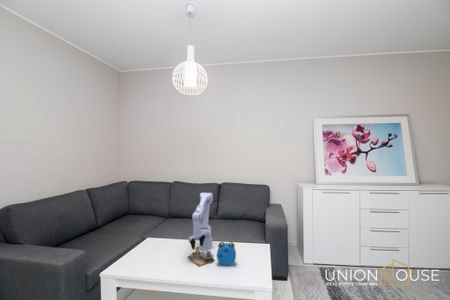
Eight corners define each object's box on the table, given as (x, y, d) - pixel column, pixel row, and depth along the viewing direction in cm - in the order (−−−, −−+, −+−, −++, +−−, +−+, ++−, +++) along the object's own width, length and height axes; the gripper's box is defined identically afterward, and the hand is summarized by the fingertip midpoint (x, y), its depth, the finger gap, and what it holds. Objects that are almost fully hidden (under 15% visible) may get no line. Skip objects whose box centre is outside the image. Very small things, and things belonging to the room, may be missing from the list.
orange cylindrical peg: (197, 256, 164) (197, 246, 164) (199, 257, 162) (199, 247, 162) (194, 257, 162) (194, 247, 162) (197, 258, 160) (197, 248, 160)
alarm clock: (235, 262, 157) (235, 240, 157) (235, 266, 151) (235, 244, 151) (217, 261, 158) (217, 240, 158) (216, 266, 151) (216, 244, 151)
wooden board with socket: (202, 252, 171) (202, 244, 171) (215, 261, 158) (215, 252, 158) (187, 257, 163) (187, 248, 163) (199, 267, 150) (199, 257, 150)
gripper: (201, 225, 170) (200, 242, 170) (185, 230, 159) (185, 249, 159) (207, 227, 165) (207, 245, 165) (192, 232, 154) (192, 252, 154)
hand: (197, 247), depth 162 cm, fingers open, 7 cm apart
